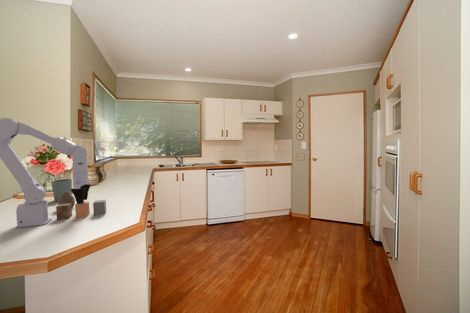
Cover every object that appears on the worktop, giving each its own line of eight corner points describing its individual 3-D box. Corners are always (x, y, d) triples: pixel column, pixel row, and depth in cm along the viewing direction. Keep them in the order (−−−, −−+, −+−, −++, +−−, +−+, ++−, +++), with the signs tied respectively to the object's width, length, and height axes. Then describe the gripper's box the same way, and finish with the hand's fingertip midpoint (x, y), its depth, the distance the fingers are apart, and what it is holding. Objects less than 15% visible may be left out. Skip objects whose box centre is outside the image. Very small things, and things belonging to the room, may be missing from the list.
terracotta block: (75, 217, 103) (75, 204, 103) (78, 215, 107) (77, 202, 107) (87, 216, 105) (86, 203, 104) (89, 213, 109) (88, 201, 108)
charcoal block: (93, 215, 106) (93, 202, 105) (95, 213, 110) (94, 200, 109) (104, 214, 107) (104, 201, 107) (106, 211, 111) (105, 199, 111)
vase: (55, 210, 116) (54, 193, 115) (69, 206, 122) (68, 190, 122) (64, 211, 113) (63, 194, 113) (78, 207, 120) (77, 191, 119)
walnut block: (56, 220, 100) (56, 206, 100) (60, 217, 105) (59, 204, 104) (69, 218, 102) (68, 205, 102) (72, 215, 106) (71, 203, 106)
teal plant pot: (64, 201, 134) (63, 181, 134) (47, 201, 134) (46, 181, 134) (76, 197, 144) (75, 178, 144) (61, 197, 144) (60, 179, 144)
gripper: (87, 173, 100) (88, 204, 100) (93, 170, 113) (95, 197, 114) (67, 174, 97) (69, 206, 98) (76, 171, 110) (78, 199, 111)
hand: (82, 201), depth 106 cm, fingers open, 7 cm apart
